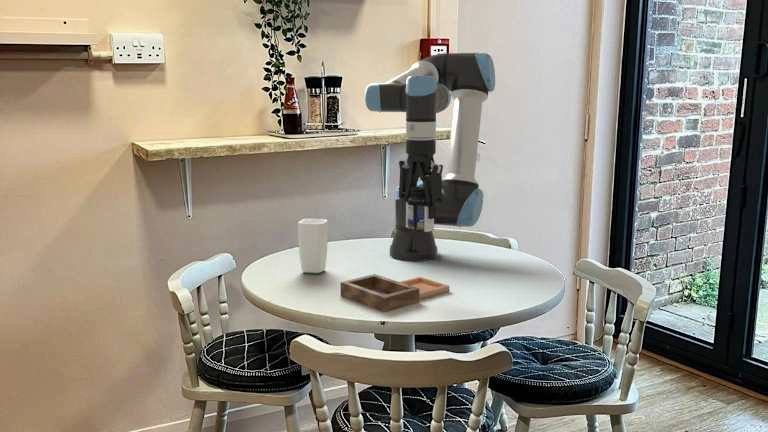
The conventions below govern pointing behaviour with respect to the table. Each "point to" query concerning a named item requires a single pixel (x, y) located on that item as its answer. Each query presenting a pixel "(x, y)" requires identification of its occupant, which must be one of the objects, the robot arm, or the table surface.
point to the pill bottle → (416, 209)
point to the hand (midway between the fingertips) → (419, 228)
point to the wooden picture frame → (363, 293)
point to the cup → (313, 244)
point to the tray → (427, 287)
